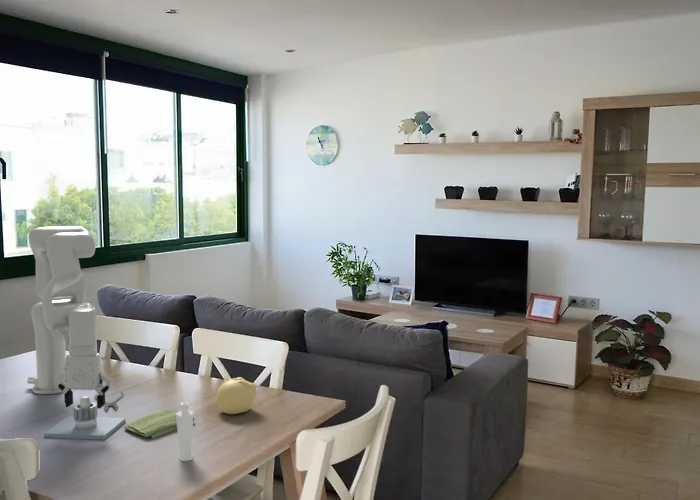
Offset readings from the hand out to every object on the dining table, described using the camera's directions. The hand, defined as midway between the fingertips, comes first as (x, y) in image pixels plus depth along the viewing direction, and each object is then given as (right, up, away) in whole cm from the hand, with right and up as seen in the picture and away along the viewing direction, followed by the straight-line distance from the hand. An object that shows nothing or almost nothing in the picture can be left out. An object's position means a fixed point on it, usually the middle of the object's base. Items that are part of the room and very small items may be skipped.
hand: (85, 406), depth 194 cm
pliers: (-1, -5, +26) cm, 26 cm away
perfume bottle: (+35, -9, -19) cm, 41 cm away
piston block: (0, -7, +1) cm, 7 cm away
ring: (0, -3, 0) cm, 3 cm away
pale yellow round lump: (+42, -6, +17) cm, 45 cm away
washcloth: (+21, -8, +3) cm, 23 cm away
